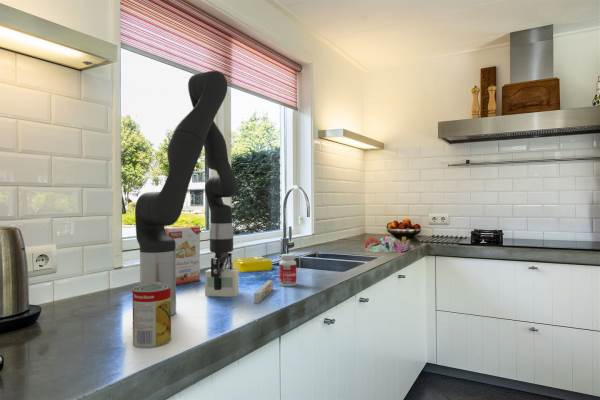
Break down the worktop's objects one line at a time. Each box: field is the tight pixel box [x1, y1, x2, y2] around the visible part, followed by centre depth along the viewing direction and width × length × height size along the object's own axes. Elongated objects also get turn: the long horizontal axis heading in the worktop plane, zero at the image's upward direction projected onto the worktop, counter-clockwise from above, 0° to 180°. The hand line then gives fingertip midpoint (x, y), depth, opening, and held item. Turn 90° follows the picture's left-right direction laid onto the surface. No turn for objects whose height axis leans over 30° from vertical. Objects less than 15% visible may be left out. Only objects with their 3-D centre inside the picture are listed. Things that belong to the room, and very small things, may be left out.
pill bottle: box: [278, 253, 297, 287], centre depth 150 cm, size 6×6×11 cm
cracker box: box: [165, 225, 201, 285], centre depth 156 cm, size 14×6×21 cm, turn 141°
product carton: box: [204, 268, 240, 298], centre depth 135 cm, size 4×10×8 cm, turn 82°
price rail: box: [253, 279, 274, 304], centre depth 133 cm, size 20×2×3 cm, turn 172°
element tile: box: [232, 256, 273, 273], centre depth 186 cm, size 15×15×5 cm
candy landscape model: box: [363, 235, 411, 253], centre depth 247 cm, size 25×24×9 cm
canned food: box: [132, 283, 172, 349], centre depth 91 cm, size 8×8×12 cm
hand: (222, 287), depth 135 cm, fingers open, 7 cm apart
